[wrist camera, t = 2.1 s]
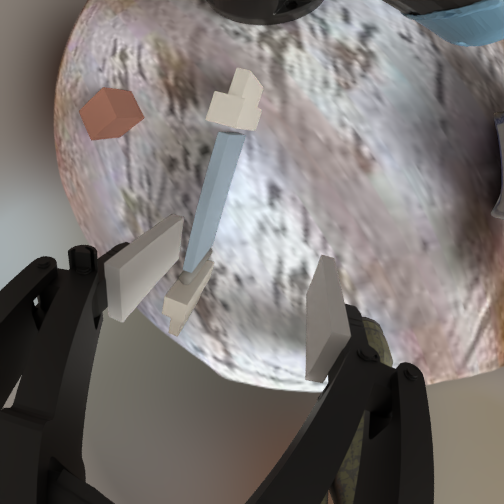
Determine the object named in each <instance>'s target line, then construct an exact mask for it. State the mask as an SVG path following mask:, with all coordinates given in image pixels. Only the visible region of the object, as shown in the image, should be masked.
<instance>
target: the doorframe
mask: <svg viewBox="0 0 504 504" xmlns="http://www.w3.org/2000/svg"><path fill="white" fill-rule="evenodd" d="M263 89H264V88H263V86H262V85H261V84H260V82H259V81H258V80H257V78H256V77H255V76H254V74H253V73H252V72H251V71H249V70H245V69H240V68H237V69H236V72H235V75H234V77H233V80H232V83H231V86H230V89H229V92H228V94H226V93H221V92H217V91H215V92H214V95H213V98H212V101H211V104H210V107H209V110H208V113H207V116H206V120H207V121H210V122H214V123H218V124H222V125H225V126H229V127H233V128H237V129H245V130H252V131H255V130H256V127H257V124H258V121H259V118H260V115H261V112H262V110H261V109H259V108H258V107H257V106H258V103H259V100H260V98H261V95H262V92H263ZM213 266H214V262H212V261H209V260H207V261H206V262H205V264H204V265H203V267H202V268H201V270H200V271H199V272H198V274H197V275H196V277H195V278H194V279H193V281H192V282H191V284H190V285H184V284H182V283H181V282H180V280H179V279H178V280H177V281H176V282H175V284H174V285H173V286H172V287H171V289H170V290H169V291H168V293H167V294H166V295H165V298H164V304H163V311H162V314H163V315H166V316H168V317H170V318H171V321H170V327H169V333H170V334H173V335H175V336H177V337H178V335H179V333H180V332H181V330H182V328H183V327H184V325H185V323H186V321H187V320H188V318H189V316H190V314H191V313H192V311H193V309H194V308H195V306H196V304H197V303H198V301H199V299H200V296H201V292H202V291H203V289H204V287H205V286H206V284H207V282H208V281H209V279H210V277H211V273H212V269H213Z"/></svg>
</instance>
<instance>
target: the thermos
mask: <svg viewBox="0 0 504 504" xmlns="http://www.w3.org/2000/svg"><path fill="white" fill-rule="evenodd" d="M362 320H363V324H364V328H365V331H366V335H367V339H368V343H369V346H371V347H372V348H374V349H375V350H376V351H377V352H378V354H379V356H380V362H382V363H383V364H385V365H388V366H390V367H392V364H393V360H392V356H391V353H390V350H389V346H388V343H387V341H386V339H385V336H384V335H383V331H382V329H381V327H380V325H379V324H378V323H377V322H376V321H374V320H372V319H369V318H366V317H362ZM364 416H365V410H364V413H363V416H362V418H361V421H360V423H359V426H358V428H357V431H356V433H355V436H354V438H353V440H352V443H351V445H350V447H349V449H348V452H347V454H346V456H345V458H344V460H343V462H342V465H341V467H340V469H339V471H338V473H337V475H336V477H335V479H334V480H333V482H332V484H331V486H330V488H329V492H330V494H331V497H332V500H333V503H334V504H353V500H354V495H355V489H356V484H357V477H358V471H359V464H360V456H361V448H362V439H363V428H364ZM321 504H328V492H327V493H326V495H325V497H324V499H323V501H322V502H321Z"/></svg>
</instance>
